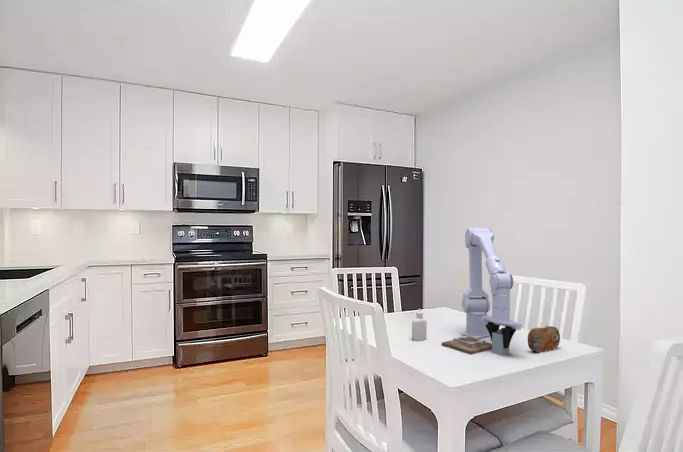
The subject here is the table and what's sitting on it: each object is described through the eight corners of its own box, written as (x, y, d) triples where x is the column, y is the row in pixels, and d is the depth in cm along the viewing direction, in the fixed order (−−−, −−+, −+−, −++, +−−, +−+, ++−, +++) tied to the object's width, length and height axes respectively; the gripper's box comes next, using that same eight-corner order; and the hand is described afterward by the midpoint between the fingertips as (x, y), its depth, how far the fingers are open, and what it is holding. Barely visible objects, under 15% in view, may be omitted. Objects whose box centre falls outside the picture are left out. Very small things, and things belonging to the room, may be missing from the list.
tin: (533, 354, 140) (533, 330, 140) (525, 351, 142) (525, 328, 143) (560, 348, 147) (561, 325, 147) (552, 346, 149) (553, 323, 149)
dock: (467, 339, 158) (467, 332, 158) (496, 347, 147) (496, 340, 147) (441, 345, 149) (441, 338, 149) (470, 354, 138) (470, 347, 138)
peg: (498, 350, 143) (499, 328, 143) (508, 353, 140) (509, 330, 140) (491, 352, 141) (492, 329, 141) (502, 355, 138) (502, 332, 138)
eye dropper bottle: (411, 337, 159) (412, 307, 159) (426, 338, 158) (426, 307, 158) (412, 340, 155) (412, 309, 155) (426, 341, 154) (427, 310, 154)
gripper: (526, 309, 137) (526, 349, 137) (490, 302, 149) (490, 339, 149) (514, 311, 133) (513, 352, 133) (478, 304, 145) (477, 342, 145)
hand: (500, 346), depth 141 cm, fingers closed on peg, 4 cm apart
